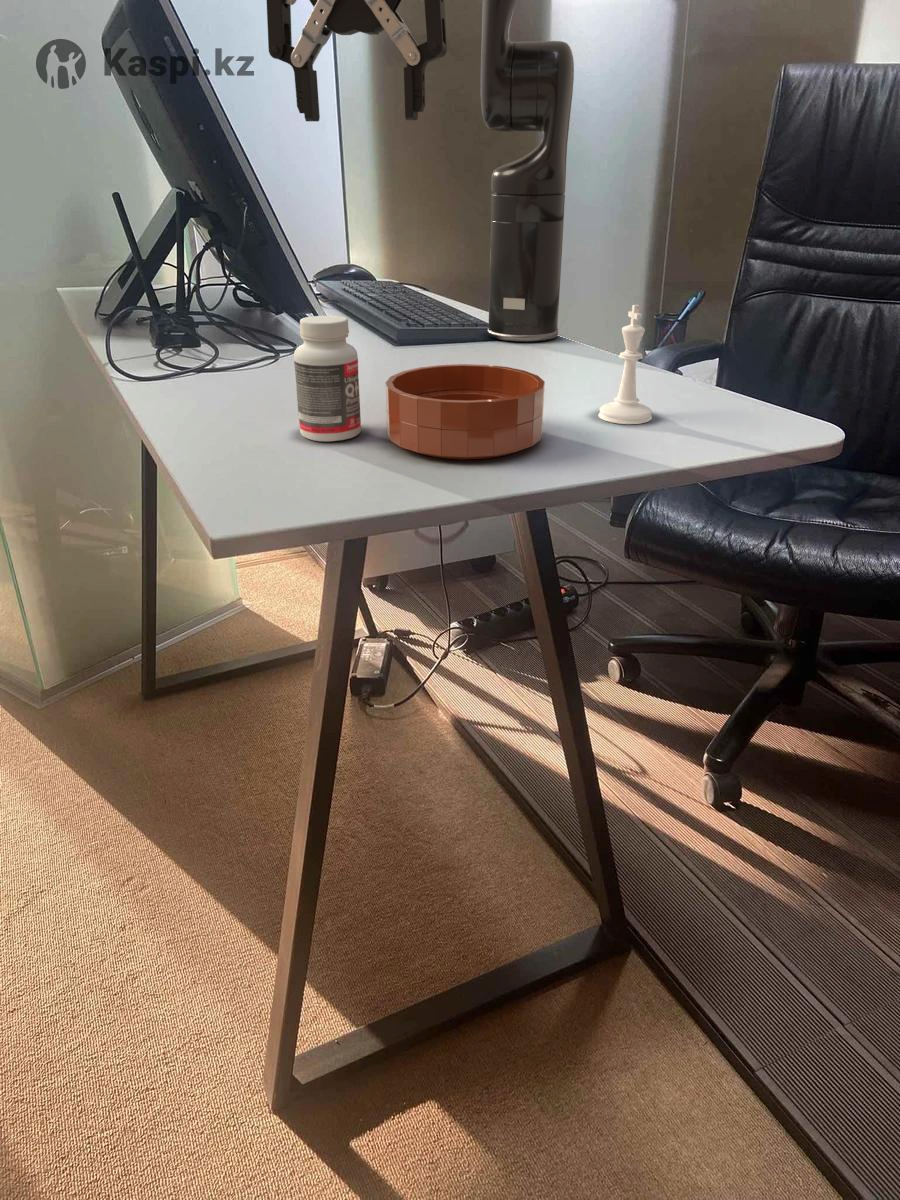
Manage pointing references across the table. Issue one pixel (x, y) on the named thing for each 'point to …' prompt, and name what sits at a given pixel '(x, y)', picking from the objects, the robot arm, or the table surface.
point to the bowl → (464, 410)
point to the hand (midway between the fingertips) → (361, 120)
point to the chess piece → (628, 380)
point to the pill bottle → (327, 380)
